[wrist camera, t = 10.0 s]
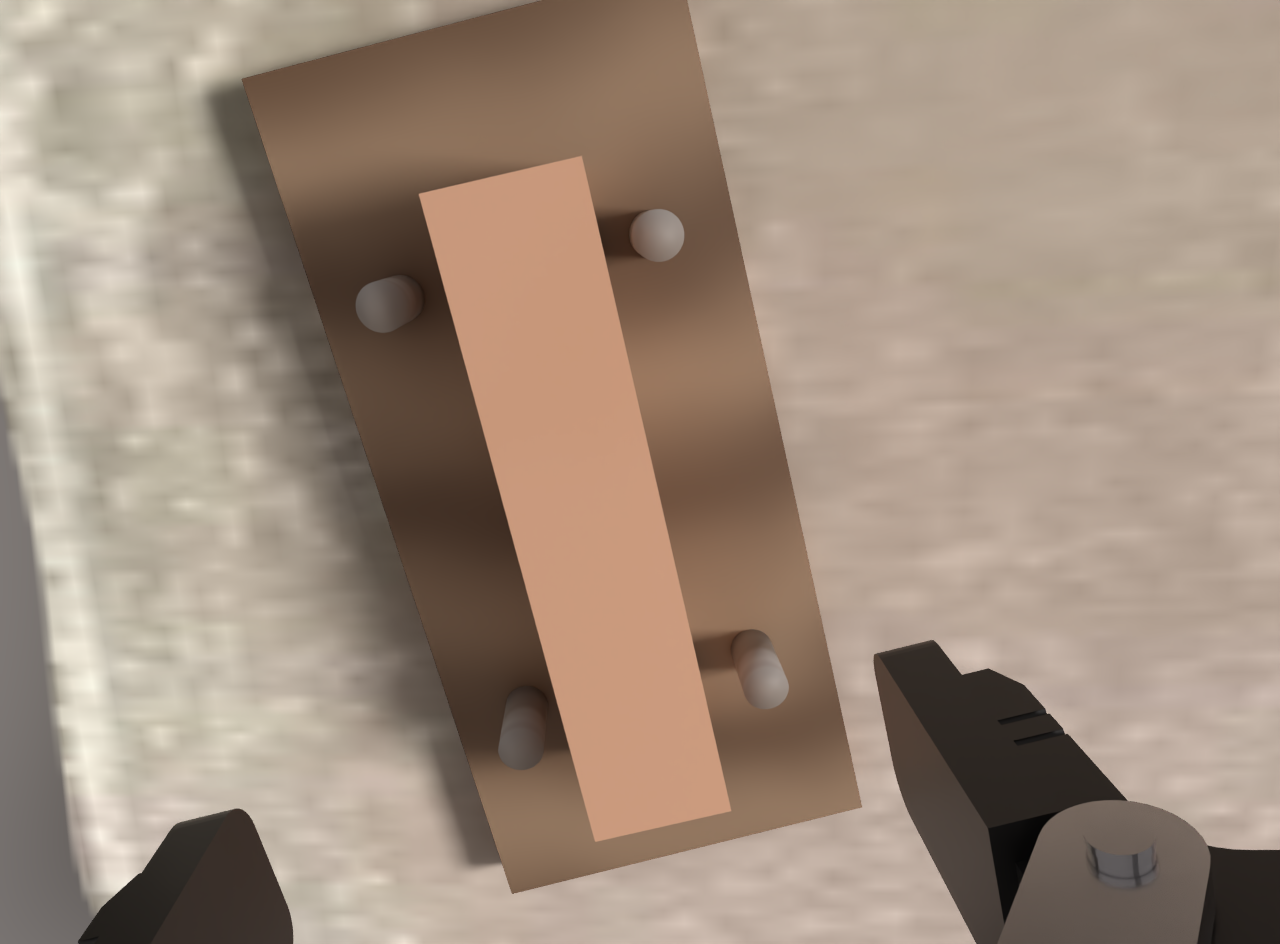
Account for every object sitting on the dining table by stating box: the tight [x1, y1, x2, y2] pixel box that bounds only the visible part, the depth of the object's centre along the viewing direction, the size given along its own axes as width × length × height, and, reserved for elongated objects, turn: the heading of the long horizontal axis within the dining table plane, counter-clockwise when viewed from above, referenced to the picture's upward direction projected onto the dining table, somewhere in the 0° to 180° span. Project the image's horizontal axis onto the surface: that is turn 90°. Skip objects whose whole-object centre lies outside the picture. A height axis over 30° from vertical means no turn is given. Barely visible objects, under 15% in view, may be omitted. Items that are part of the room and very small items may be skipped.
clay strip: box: [419, 156, 731, 842], centre depth 25 cm, size 16×4×4 cm, turn 13°
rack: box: [242, 0, 862, 894], centre depth 26 cm, size 24×11×4 cm, turn 14°
